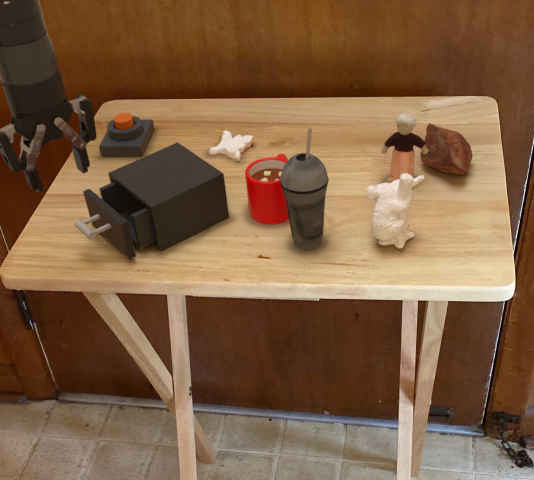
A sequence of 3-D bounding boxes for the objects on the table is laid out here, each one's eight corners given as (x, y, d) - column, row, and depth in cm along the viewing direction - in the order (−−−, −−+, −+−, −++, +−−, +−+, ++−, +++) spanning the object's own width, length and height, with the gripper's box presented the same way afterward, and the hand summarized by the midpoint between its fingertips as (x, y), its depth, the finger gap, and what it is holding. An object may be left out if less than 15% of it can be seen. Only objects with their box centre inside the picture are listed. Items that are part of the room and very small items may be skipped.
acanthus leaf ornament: (224, 136, 156) (223, 127, 154) (257, 142, 153) (256, 133, 152) (206, 155, 151) (204, 146, 150) (238, 161, 148) (237, 152, 147)
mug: (307, 185, 141) (305, 145, 136) (289, 226, 133) (286, 185, 127) (263, 181, 143) (259, 142, 138) (243, 221, 135) (238, 181, 129)
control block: (142, 156, 152) (138, 137, 150) (101, 156, 154) (96, 137, 151) (154, 129, 160) (151, 110, 157) (115, 129, 161) (111, 111, 158)
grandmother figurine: (382, 188, 139) (383, 121, 130) (379, 176, 141) (381, 109, 133) (427, 185, 138) (432, 118, 130) (424, 173, 141) (428, 106, 132)
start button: (131, 130, 153) (129, 122, 151) (113, 130, 153) (111, 122, 152) (136, 121, 155) (134, 112, 154) (118, 121, 156) (116, 112, 155)
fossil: (473, 174, 133) (451, 117, 131) (425, 193, 137) (403, 137, 135) (481, 161, 144) (461, 108, 142) (437, 178, 148) (416, 127, 146)
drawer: (106, 271, 126) (96, 235, 122) (69, 236, 134) (59, 201, 129) (195, 226, 133) (189, 191, 128) (155, 196, 141) (148, 161, 136)
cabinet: (160, 251, 130) (151, 207, 124) (118, 215, 139) (107, 172, 133) (229, 217, 136) (223, 173, 130) (184, 184, 144) (177, 142, 138)
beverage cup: (285, 229, 132) (276, 118, 119) (330, 227, 132) (326, 115, 118) (284, 257, 127) (275, 143, 113) (331, 255, 126) (327, 141, 113)
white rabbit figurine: (420, 228, 129) (424, 163, 121) (421, 254, 125) (425, 188, 117) (367, 227, 131) (367, 162, 123) (365, 253, 126) (365, 187, 118)
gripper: (65, 42, 109) (92, 151, 120) (-36, 78, 103) (3, 189, 114) (92, 59, 104) (118, 171, 116) (-13, 98, 99) (26, 211, 110)
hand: (60, 179), depth 115 cm, fingers open, 6 cm apart
